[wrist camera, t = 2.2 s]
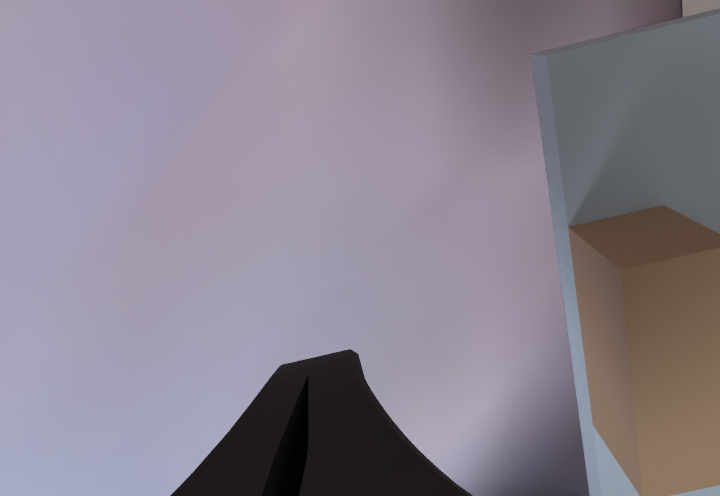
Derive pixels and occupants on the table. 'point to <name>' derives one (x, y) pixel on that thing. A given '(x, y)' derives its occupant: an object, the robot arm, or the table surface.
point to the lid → (640, 248)
